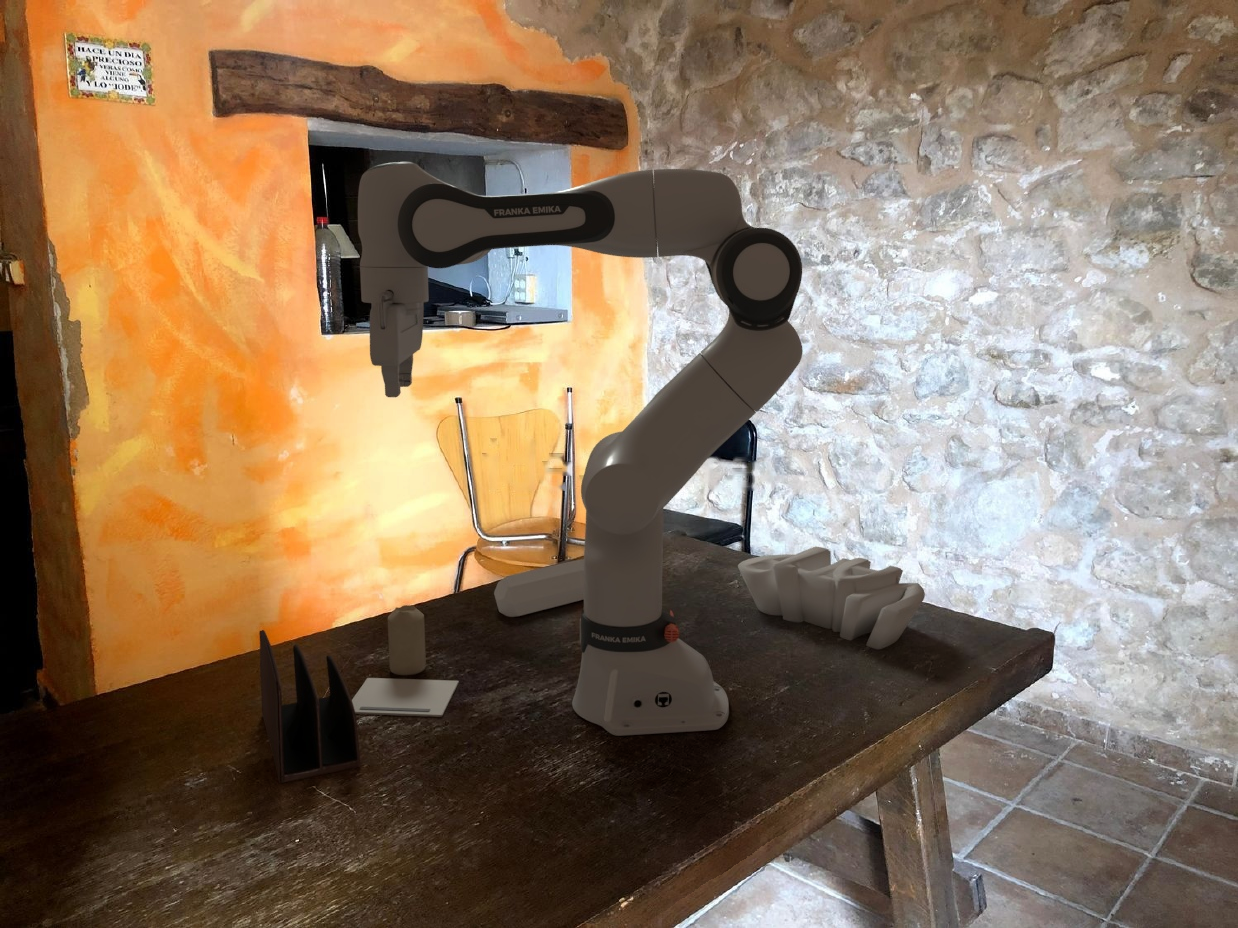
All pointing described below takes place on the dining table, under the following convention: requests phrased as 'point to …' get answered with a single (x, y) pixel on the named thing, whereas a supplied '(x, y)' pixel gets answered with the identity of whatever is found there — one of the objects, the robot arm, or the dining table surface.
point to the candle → (406, 641)
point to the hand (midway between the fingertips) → (399, 391)
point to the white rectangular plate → (404, 697)
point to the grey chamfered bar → (540, 589)
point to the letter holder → (307, 720)
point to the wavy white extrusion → (834, 594)
